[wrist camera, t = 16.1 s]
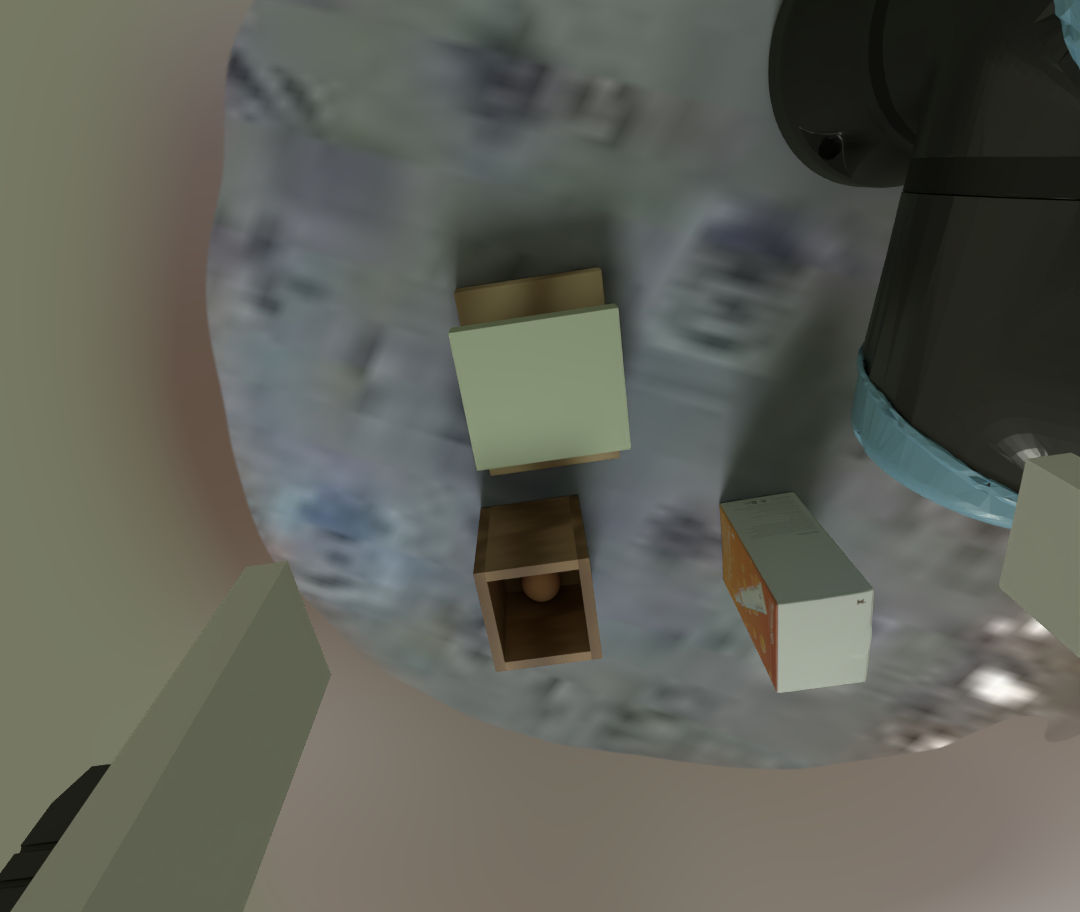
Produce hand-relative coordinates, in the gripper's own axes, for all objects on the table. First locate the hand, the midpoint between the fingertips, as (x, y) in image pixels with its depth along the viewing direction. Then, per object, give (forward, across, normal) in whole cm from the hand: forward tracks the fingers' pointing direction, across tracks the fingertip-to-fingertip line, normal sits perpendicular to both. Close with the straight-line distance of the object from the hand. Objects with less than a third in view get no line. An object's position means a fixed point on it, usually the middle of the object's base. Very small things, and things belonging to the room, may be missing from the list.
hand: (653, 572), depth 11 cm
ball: (+34, -4, -24) cm, 42 cm away
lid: (+32, -2, -7) cm, 33 cm away
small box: (+35, +14, -24) cm, 45 cm away
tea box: (+35, -4, -22) cm, 41 cm away
